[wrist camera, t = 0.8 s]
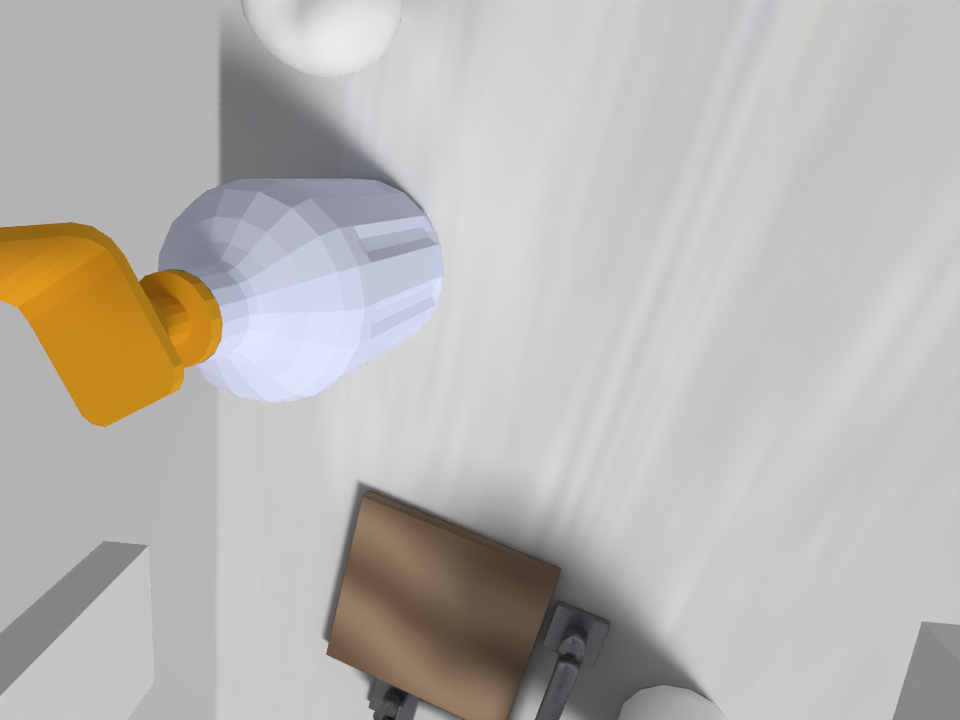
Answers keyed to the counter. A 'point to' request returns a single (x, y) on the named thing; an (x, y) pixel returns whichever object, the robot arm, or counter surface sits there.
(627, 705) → the foam cup
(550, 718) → the rail
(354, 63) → the plain white apple
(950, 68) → the counter surface
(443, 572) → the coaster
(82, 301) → the soap bottle
